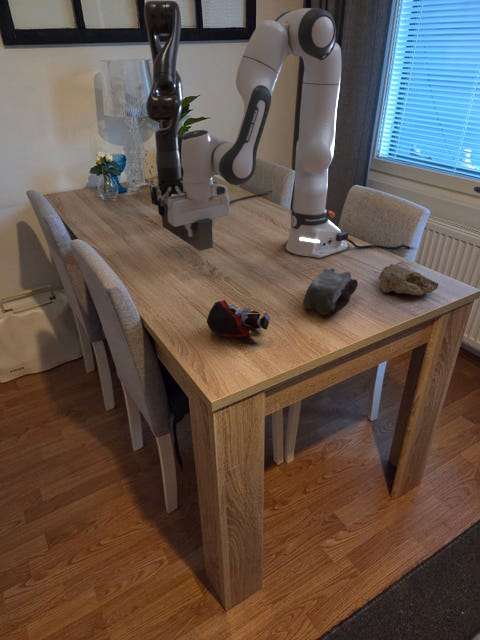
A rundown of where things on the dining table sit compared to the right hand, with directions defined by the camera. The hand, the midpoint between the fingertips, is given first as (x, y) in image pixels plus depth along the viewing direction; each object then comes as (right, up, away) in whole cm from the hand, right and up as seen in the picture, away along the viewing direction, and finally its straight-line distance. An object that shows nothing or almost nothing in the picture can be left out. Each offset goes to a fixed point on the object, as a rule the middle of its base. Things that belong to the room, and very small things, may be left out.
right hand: (200, 233), depth 139 cm
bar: (-5, +1, +9) cm, 10 cm away
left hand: (-11, +9, +12) cm, 19 cm away
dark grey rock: (+38, -23, -13) cm, 46 cm away
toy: (+12, -31, -28) cm, 44 cm away
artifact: (+61, -17, -5) cm, 64 cm away
